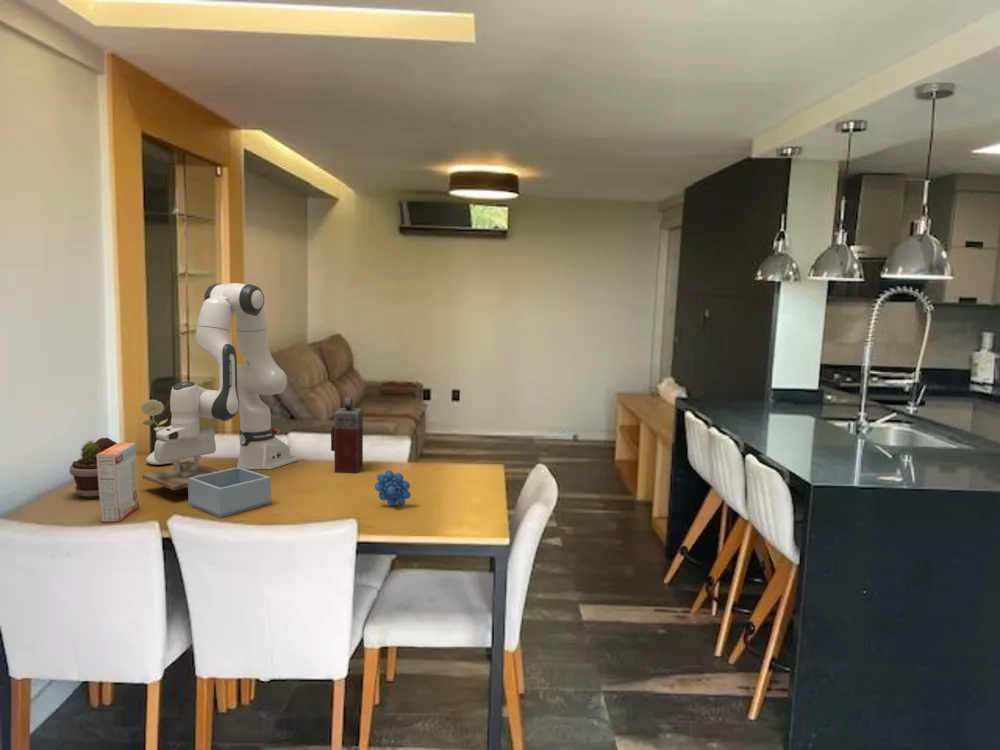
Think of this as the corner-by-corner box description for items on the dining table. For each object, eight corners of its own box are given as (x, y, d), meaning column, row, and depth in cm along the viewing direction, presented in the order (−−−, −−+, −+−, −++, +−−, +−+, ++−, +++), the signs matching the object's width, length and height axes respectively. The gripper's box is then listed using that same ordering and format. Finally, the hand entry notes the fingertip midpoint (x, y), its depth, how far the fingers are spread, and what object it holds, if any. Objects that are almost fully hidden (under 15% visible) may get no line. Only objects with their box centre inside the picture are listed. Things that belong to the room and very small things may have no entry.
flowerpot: (84, 488, 239) (81, 430, 237) (130, 488, 240) (128, 431, 238) (60, 501, 225) (56, 440, 222) (110, 501, 226) (106, 441, 223)
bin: (239, 492, 239) (238, 466, 237) (271, 504, 228) (270, 477, 227) (188, 505, 225) (187, 478, 223) (220, 518, 214) (219, 489, 213)
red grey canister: (334, 466, 275) (333, 395, 271) (362, 466, 275) (362, 396, 271) (328, 472, 266) (327, 399, 262) (357, 473, 266) (357, 400, 262)
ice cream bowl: (122, 482, 247) (120, 440, 245) (87, 483, 244) (84, 441, 242) (130, 473, 257) (128, 433, 255) (96, 474, 255) (94, 434, 253)
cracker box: (120, 507, 221) (116, 442, 218) (140, 507, 222) (137, 442, 219) (98, 522, 207) (95, 453, 204) (120, 522, 208) (116, 453, 205)
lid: (198, 467, 253) (198, 452, 252) (230, 477, 241) (230, 462, 240) (142, 478, 237) (142, 463, 236) (173, 490, 225) (173, 474, 224)
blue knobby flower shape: (372, 510, 225) (372, 473, 223) (375, 503, 232) (375, 467, 230) (409, 510, 225) (409, 474, 224) (411, 503, 232) (411, 468, 230)
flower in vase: (183, 459, 278) (181, 397, 275) (171, 467, 267) (169, 402, 264) (149, 459, 278) (146, 396, 274) (136, 466, 266) (133, 401, 263)
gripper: (209, 424, 247) (210, 463, 249) (151, 433, 231) (152, 474, 233) (219, 427, 243) (220, 466, 245) (160, 436, 227) (162, 478, 229)
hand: (186, 470), depth 239 cm, fingers closed on lid, 4 cm apart
